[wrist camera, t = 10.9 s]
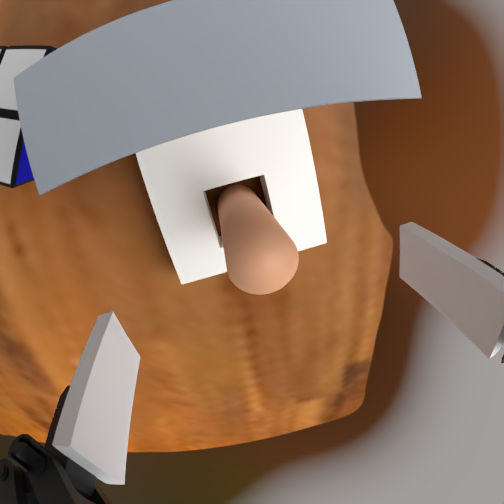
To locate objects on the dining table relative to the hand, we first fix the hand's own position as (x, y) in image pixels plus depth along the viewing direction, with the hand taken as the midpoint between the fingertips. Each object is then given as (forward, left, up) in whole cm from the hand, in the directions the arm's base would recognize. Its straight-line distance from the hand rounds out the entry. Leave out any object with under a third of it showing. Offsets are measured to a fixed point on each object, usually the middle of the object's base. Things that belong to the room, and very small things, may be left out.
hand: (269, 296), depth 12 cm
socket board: (0, +3, -16) cm, 17 cm away
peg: (0, 0, -16) cm, 16 cm away
